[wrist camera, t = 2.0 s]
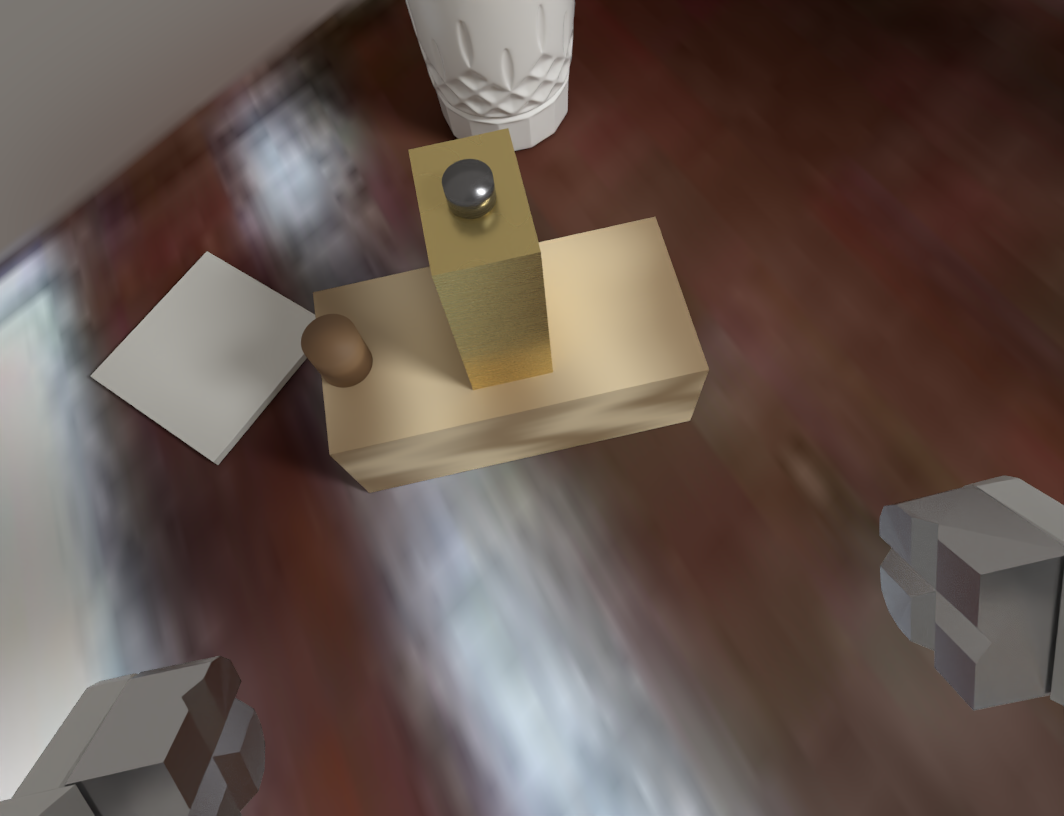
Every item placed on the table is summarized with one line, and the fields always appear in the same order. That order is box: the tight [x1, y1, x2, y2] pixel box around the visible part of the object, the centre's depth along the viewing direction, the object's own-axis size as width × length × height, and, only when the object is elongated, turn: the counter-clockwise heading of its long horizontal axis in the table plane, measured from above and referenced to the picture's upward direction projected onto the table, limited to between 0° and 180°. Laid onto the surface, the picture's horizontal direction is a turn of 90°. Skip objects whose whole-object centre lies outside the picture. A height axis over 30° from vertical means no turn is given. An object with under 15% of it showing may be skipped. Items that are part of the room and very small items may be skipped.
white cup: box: [405, 0, 575, 151], centre depth 33 cm, size 8×8×10 cm
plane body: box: [301, 217, 709, 493], centre depth 28 cm, size 14×7×7 cm, turn 102°
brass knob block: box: [409, 128, 553, 390], centre depth 23 cm, size 3×4×8 cm, turn 12°
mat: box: [91, 252, 316, 465], centre depth 33 cm, size 8×8×1 cm
